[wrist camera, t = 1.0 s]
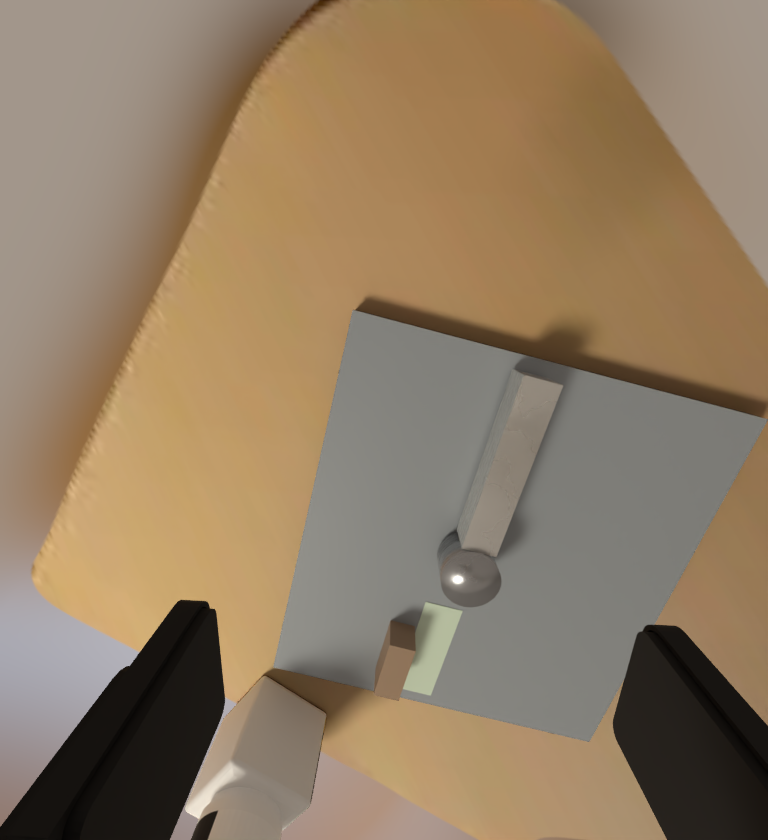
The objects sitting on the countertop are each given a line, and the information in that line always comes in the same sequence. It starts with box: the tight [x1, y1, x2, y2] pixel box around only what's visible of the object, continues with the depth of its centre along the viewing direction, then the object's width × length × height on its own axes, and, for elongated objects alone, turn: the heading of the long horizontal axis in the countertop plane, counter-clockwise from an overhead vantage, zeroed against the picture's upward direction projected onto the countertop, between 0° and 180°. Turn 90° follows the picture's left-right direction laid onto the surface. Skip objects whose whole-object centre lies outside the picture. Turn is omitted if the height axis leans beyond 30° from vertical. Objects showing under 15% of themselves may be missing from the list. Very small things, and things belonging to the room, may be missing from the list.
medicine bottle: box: [185, 676, 327, 840], centre depth 30 cm, size 7×7×12 cm
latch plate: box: [274, 310, 768, 742], centre depth 29 cm, size 28×30×4 cm
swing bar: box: [437, 369, 563, 607], centre depth 26 cm, size 16×4×3 cm, turn 166°
